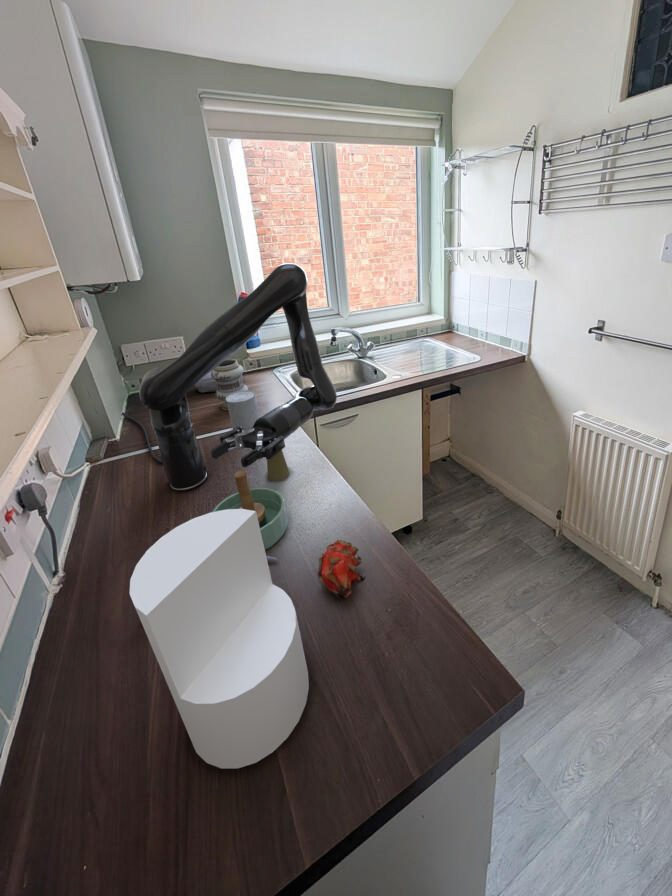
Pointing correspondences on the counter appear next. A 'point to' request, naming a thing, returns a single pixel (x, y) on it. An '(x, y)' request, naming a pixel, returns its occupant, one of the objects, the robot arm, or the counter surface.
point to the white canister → (242, 409)
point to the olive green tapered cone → (277, 467)
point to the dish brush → (249, 497)
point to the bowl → (273, 512)
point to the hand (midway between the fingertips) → (227, 459)
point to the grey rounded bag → (207, 384)
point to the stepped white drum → (223, 636)
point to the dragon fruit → (339, 568)
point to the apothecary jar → (228, 379)
